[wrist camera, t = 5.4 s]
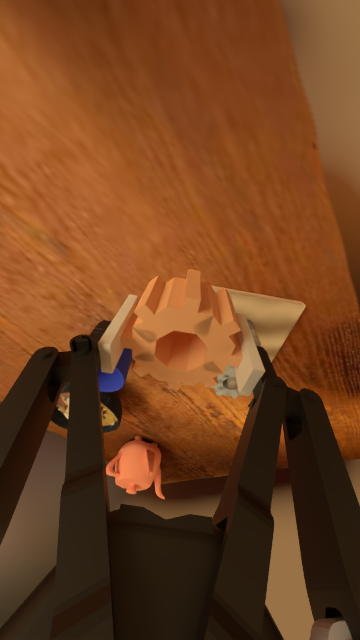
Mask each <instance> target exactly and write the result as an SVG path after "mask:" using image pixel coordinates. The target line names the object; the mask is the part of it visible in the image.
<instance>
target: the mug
mask: <svg viewBox="0 0 360 640" xmlns="http://www.w3.org/2000/svg"><path fill="white" fill-rule="evenodd" d="M131 360H132V349H128V348H124V350H123V352H122V354H121V356H120V358H119V360H118V362H117V365H116V367H115V369H114V371H113V373H112V374H111V373H105V372H101V367H100V369H99V371H98V376H99V388H100V391H102V392H114V391H117V390H120V389H121V388H122V387H123V386H124V384H125V381H126V377H127V374H128V370H129V367H130V363H131Z"/></svg>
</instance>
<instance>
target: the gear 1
mask: <svg viewBox="0 0 360 640" xmlns="http://www.w3.org/2000/svg"><path fill="white" fill-rule="evenodd" d="M239 331H241V329H240V326H239V322H238V319H237V316H236V312H235V309H234V306H233V303H232V299H231V296H230V294H229V293H228V291H227V290H226V288H225V287H224V288H222V289H220V290H218V291H217V292H215V291H214V289H213V288H212V287H211V285H210V283H204V282H200V271H196V270H191V269H188V272H187V278H186V279H182V278H176V277H174V278H173V279H171V280H170V281H168V282H167V283H165V282H164V281H163V280H162V279H161V277H160V276H159V275H158V276H157V277H156V278H154V279H153V280H151V281H150V282H149V284H148V286H147V288H146V290H145V292H144V294H143V295H142V297H141V299H140V301H139V303H138V305H137V306H136V308H135V310H134V312H133V314H132V316H131V318H130V320H129V321H128V323H127V325H126V327H125V329H124V331H123V333H122V335H121V337H120V344H121V347H122V348H128V349H132V359H133V360H134V361H135V365H134V368H133V371H134V372H136V373H137V374H138V375H139V376H140V377H142V376H144V375H147V374H150V375H151V376H153V377H154V378H155V379H156V380H158V381H164V382H168V387H167V389H172V390H178V391H179V387H180V384H183V385H189V386H193V385H196V384H198V383H201V382H202V383H203V384H204V385H205V386H206V387H207V388H209V387H212V386H215V385H217V384H218V379H217V376H219V375H222V374H224V371H225V369H226V367H227V365H229V366H235V367H239V365H240V363H241V361H242V359H243V356H242V352H241V348H240V344H239V341H238V337H237V332H239Z"/></svg>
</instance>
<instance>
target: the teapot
mask: <svg viewBox="0 0 360 640" xmlns="http://www.w3.org/2000/svg"><path fill="white" fill-rule="evenodd" d="M157 446H158V444H157V443H151V444H150V443H147V442H144V441H142V437H141V436H135V440H133V441H130V442H126V444H125V445H124V446H123V447H122V448H121V449H120V451H119V452H118V455H117V456H116V457H115V458H114V459H113V460H111V461H110V462H109V464H108V465H107V467H106V474H107V475H110V476H115V481H116V484H117V485H118V486H121V487H122V488H127V490H126V492H127V493H129V494H136V491H139V490H144V489H147V488H149V487H150V486H151V484H152V482H153V480H154V481H155V489H156V494H157V495H158V496H159V497H160V498H162V499H165V498H164V496H163V495H162V492H161V470H160V467H159V466H160V462H161V452H160V449H159V448H158V447H157ZM115 463H116V466H115V472H114V471H113V469H112V468H113V466H114V465H115Z"/></svg>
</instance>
